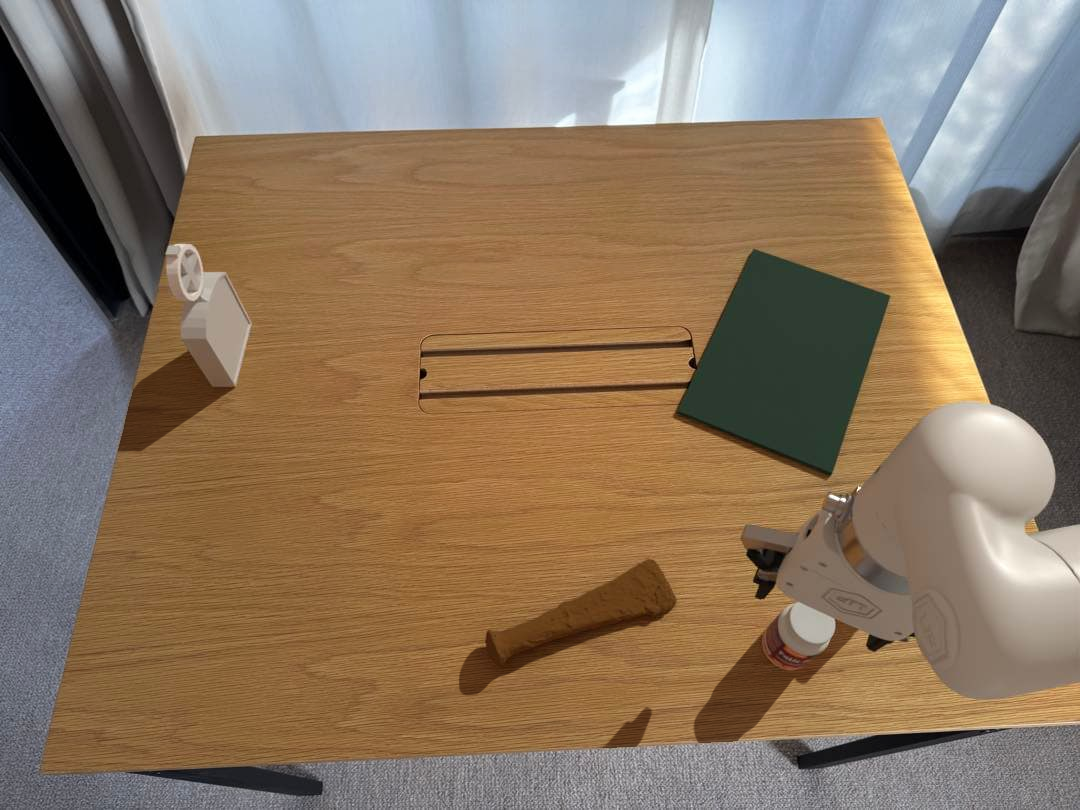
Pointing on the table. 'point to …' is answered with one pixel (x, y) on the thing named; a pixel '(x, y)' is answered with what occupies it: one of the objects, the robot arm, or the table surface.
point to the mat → (787, 360)
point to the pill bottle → (797, 636)
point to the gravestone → (208, 315)
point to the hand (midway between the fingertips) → (817, 608)
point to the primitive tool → (588, 611)
